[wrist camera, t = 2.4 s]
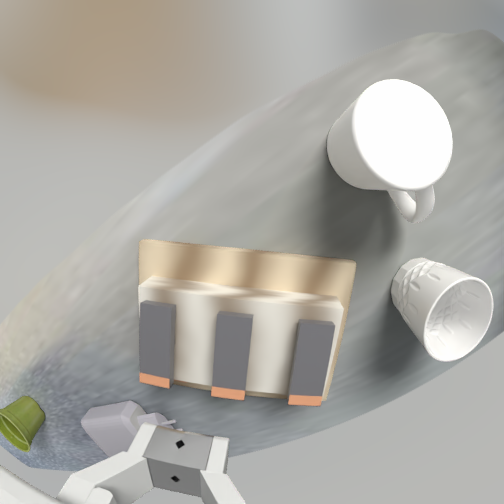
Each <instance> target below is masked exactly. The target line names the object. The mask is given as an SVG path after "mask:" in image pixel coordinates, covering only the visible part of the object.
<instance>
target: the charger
mask: <svg viewBox="0 0 504 504" xmlns="http://www.w3.org/2000/svg"><path fill="white" fill-rule="evenodd" d="M144 422H147V423H151V424H155V425H159V426H163V427H167V428H171V429H174V428H173V427H172V425H171V424H173V423H176V420H170V421H168V420H167V419H166V418H165V416H163V415H161V414H159V413H151V414H146V412H145V411H144V410H143V408H142V407H141V406H140V405H138V404H136V403H135V402H133V401H131V400H130V401H125V402H120V403H115V404H110V405H104V406H99V407H93V408H90V409H89V411H88V412H87V413H86V415H85V416H84V417H83V418H82V420H81V424H82V426H83V428H84V430H85V431H86V432H87V433H88V435H89V436H90V437H91V438H92V439H93V440H94V441H95V443H96V444H97V445H98V446H99V447H100V448H101V449H102V450H103V451H104V453H105V454H106V455H107V456H108V457H109V458H110V457H112V456H114V455H116V454H118V453H120V452H122V451H124V452H127V451H128V449H129V447H130V445H131V444H132V442H133V440H134V438H135V436H136V434H137V432H138V430H139V429H140V427H141V425H142V424H143V423H144ZM176 430H180V431H183V429H182V428H180V429H176Z"/></svg>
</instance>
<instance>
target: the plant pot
mask: <svg viewBox="0 0 504 504" xmlns="http://www.w3.org/2000/svg"><path fill="white" fill-rule="evenodd" d="M44 420H45V415H44V412H43V411H42V410H41V409H40V407H39V405H38V404H37V403H36V402H35V401H34V400H33V399H32V398H30V397H28V396H22V397H21V398H19V399H18V400H16V401H15V402H13V403H11V404H10V405H8V406H7V407H5V408H3V409H0V432H1V433H2V434H3V435H4V437H5V438H6V439H7V440H8V441H9V442H10V443H11V444H13V445H14V446H15V447H17V448H18V449H20V450H22V451H24V452H29V451H30V445H31V443H32V440H33V438H34V436H35V434H36V433H37V431H38V429H39V428H40V426H41V425H42V423H43V421H44Z"/></svg>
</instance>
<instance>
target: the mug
mask: <svg viewBox="0 0 504 504" xmlns="http://www.w3.org/2000/svg"><path fill="white" fill-rule="evenodd" d="M452 146H453V144H452V133H451V129H450V125H449V122H448V120H447V117H446V115H445V113H444V112H443V110H442V108H441V107H440V105H439V104H438V103H437V101H436V100H435V99H434V98H433V97H432V96H431V95H430V94H429V93H427V92H426V91H425V90H423V89H422V88H420V87H419V86H417V85H415V84H412V83H410V82H407V81H402V80H384V81H380V82H377V83H375V84H373V85H371V86H370V87H368V88H367V89H366V90H365V91H364V92H363V93H362V94H361V95H360V96H359V97H358V98H357V99H356V100H355V101H354V102H353V103H352V104H351V105H350V106H349V107H348V108H347V110H346V111H345V112H344V113H343V114H342V115H341V116H340V117H339V118H338V119H337V120H336V121H335V122H334V124H333V125H332V127H331V129H330V131H329V134H328V138H327V153H328V157H329V160H330V163H331V165H332V167H333V168H334V170H335V171H336V173H337V174H338V175H339V176H340V177H341V178H342V179H343V180H344V181H345V182H347V183H348V184H350V185H352V186H354V187H357V188H361V189H369V190H387V191H388V193H389V194H390V196H391V198H392V200H393V201H394V203H395V205H396V206H397V208H398V210H399V211H400V213H401V214H402V215H403V217H404V218H405V219H406V220H407V221H408V222H410V223H418V222H421V221H423V220H424V219H426V218H427V217H428V216H429V215H430V214H431V212H432V210H433V208H434V202H435V197H434V189H433V184H435V183H436V182H437V181H438V180H439V179H440V178H441V177H442V176H443V174H444V173H445V171H446V169H447V168H448V165H449V163H450V160H451V155H452ZM406 191H415V195H416V203H415V202H414V201H413V199H412V198H411V197H410V196H409V195H408V193H407V192H406Z"/></svg>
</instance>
